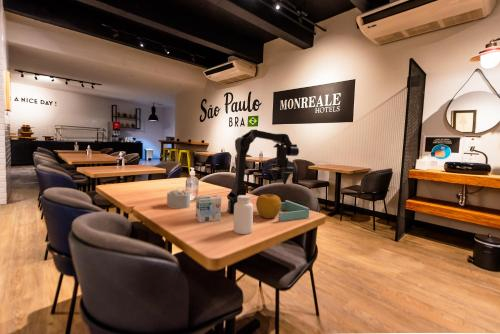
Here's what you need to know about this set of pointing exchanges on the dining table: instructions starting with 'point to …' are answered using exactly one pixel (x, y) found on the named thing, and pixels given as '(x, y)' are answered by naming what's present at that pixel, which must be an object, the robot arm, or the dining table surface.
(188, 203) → the lumpy-topped squat cylinder
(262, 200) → the apple
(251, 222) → the pill bottle
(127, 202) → the dining table surface
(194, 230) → the dining table surface
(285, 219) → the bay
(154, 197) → the dining table surface
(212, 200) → the light bulb box
